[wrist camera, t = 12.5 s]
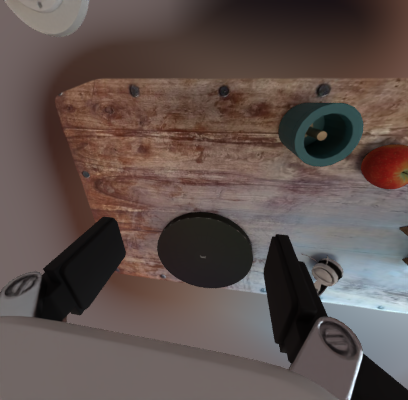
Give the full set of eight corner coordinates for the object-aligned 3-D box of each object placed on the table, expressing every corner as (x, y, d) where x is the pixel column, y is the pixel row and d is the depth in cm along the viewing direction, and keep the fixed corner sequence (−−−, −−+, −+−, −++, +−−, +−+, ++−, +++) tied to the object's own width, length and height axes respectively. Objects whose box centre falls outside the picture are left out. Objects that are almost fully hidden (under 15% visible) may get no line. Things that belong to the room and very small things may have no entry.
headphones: (349, 233, 46) (328, 281, 56) (307, 231, 48) (294, 278, 58) (368, 258, 39) (340, 308, 49) (318, 254, 41) (301, 303, 51)
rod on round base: (294, 118, 36) (313, 123, 27) (313, 118, 35) (338, 123, 27) (290, 136, 37) (306, 147, 29) (308, 137, 37) (330, 148, 28)
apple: (369, 134, 36) (412, 145, 27) (407, 147, 36) (463, 161, 27) (342, 171, 40) (372, 190, 31) (377, 182, 40) (416, 204, 31)
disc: (260, 218, 49) (262, 224, 46) (244, 286, 63) (244, 294, 61) (156, 206, 52) (152, 211, 50) (164, 273, 67) (161, 280, 64)
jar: (283, 102, 35) (303, 102, 25) (332, 102, 34) (375, 103, 24) (274, 148, 40) (288, 165, 29) (317, 150, 38) (348, 168, 28)
